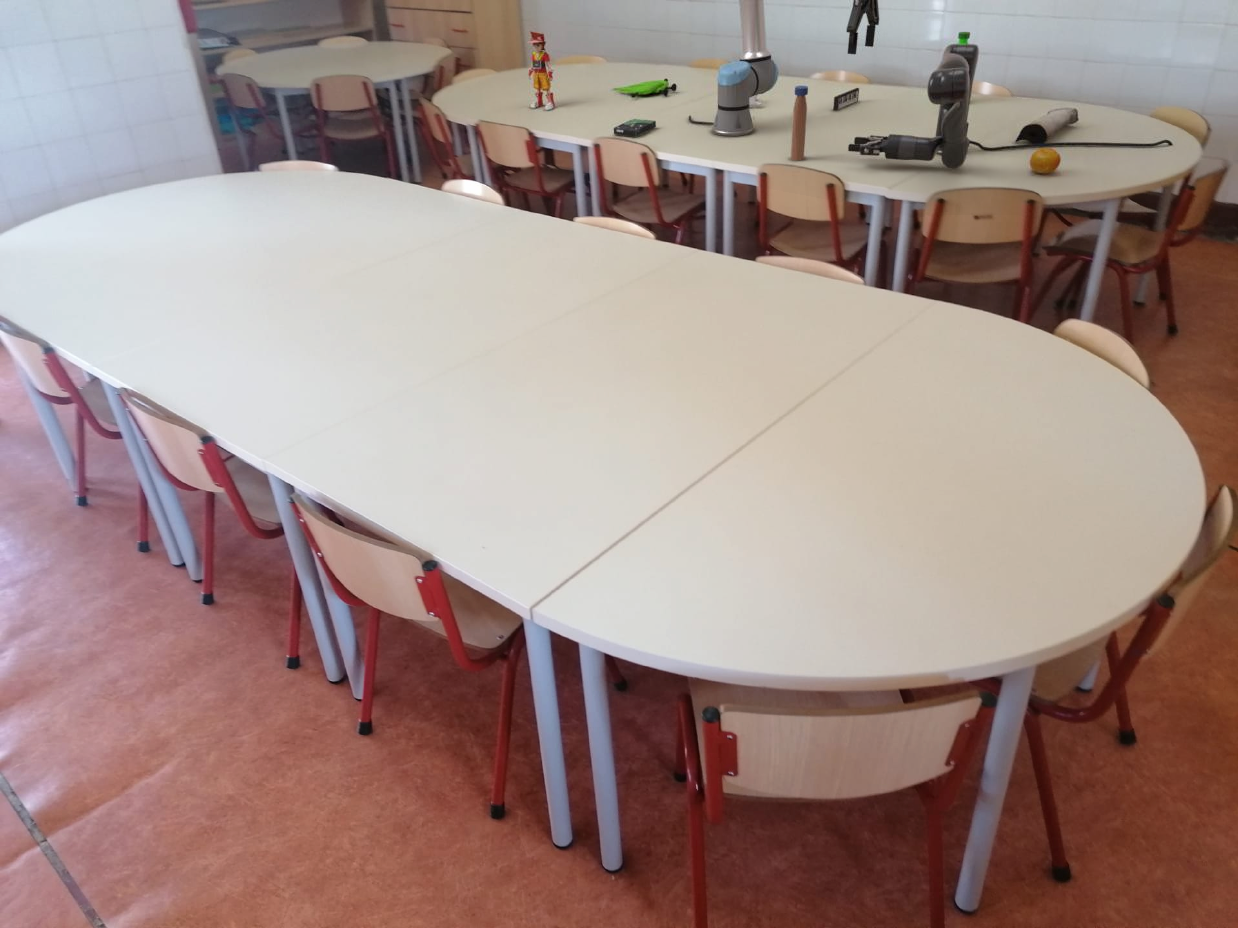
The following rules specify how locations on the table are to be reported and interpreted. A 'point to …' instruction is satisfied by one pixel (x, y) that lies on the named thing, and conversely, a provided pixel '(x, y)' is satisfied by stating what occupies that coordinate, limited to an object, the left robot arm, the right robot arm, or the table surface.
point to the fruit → (1045, 160)
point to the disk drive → (634, 127)
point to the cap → (801, 90)
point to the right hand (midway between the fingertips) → (851, 144)
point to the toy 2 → (648, 88)
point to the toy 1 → (541, 71)
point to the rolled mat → (1048, 125)
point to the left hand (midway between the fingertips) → (860, 50)
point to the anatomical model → (753, 101)
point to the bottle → (799, 128)
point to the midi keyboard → (846, 98)
